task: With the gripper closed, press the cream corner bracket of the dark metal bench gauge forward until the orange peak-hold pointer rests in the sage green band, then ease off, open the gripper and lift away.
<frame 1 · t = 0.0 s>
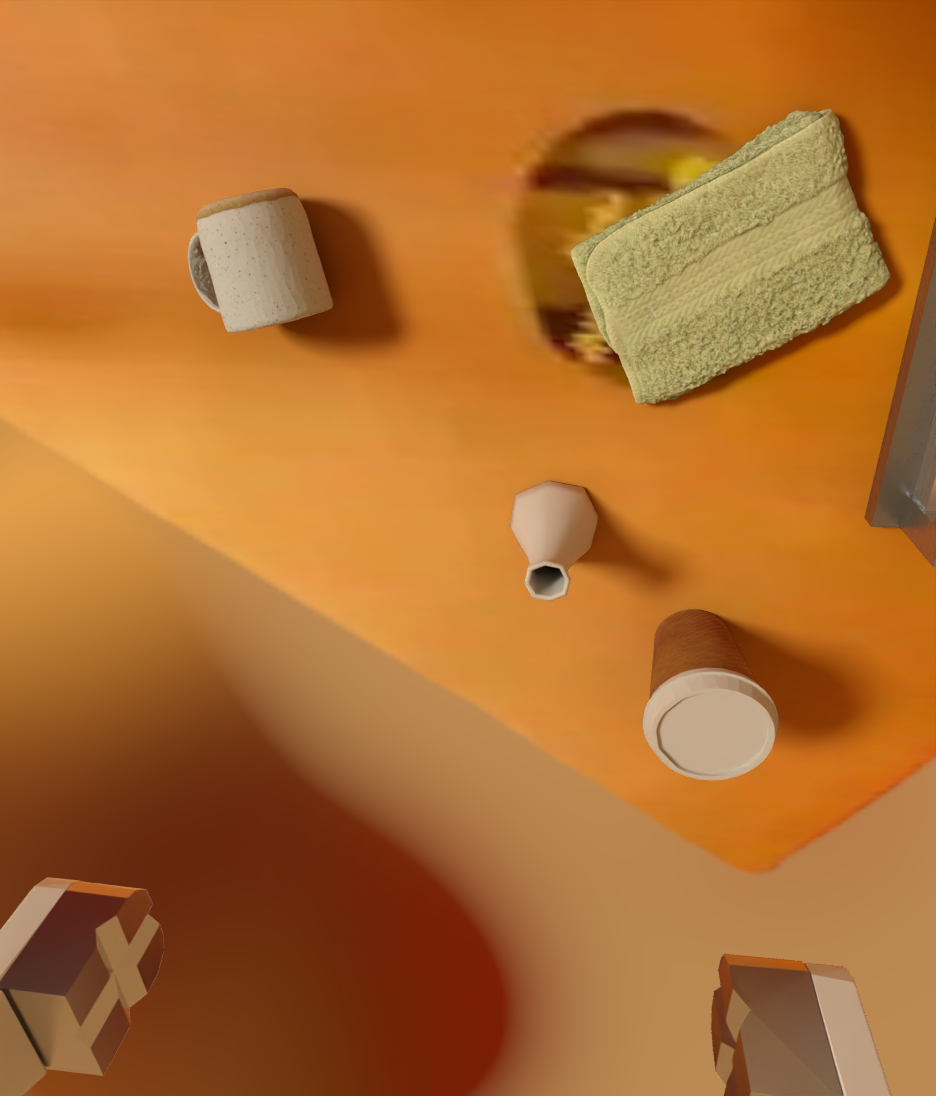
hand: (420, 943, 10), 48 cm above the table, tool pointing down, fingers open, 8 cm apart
flask: (553, 519, 60), on the table
ceramic mug: (269, 264, 54), on the table
washcloth: (721, 268, 50), on the table
disposable coffee cup: (691, 638, 63), on the table
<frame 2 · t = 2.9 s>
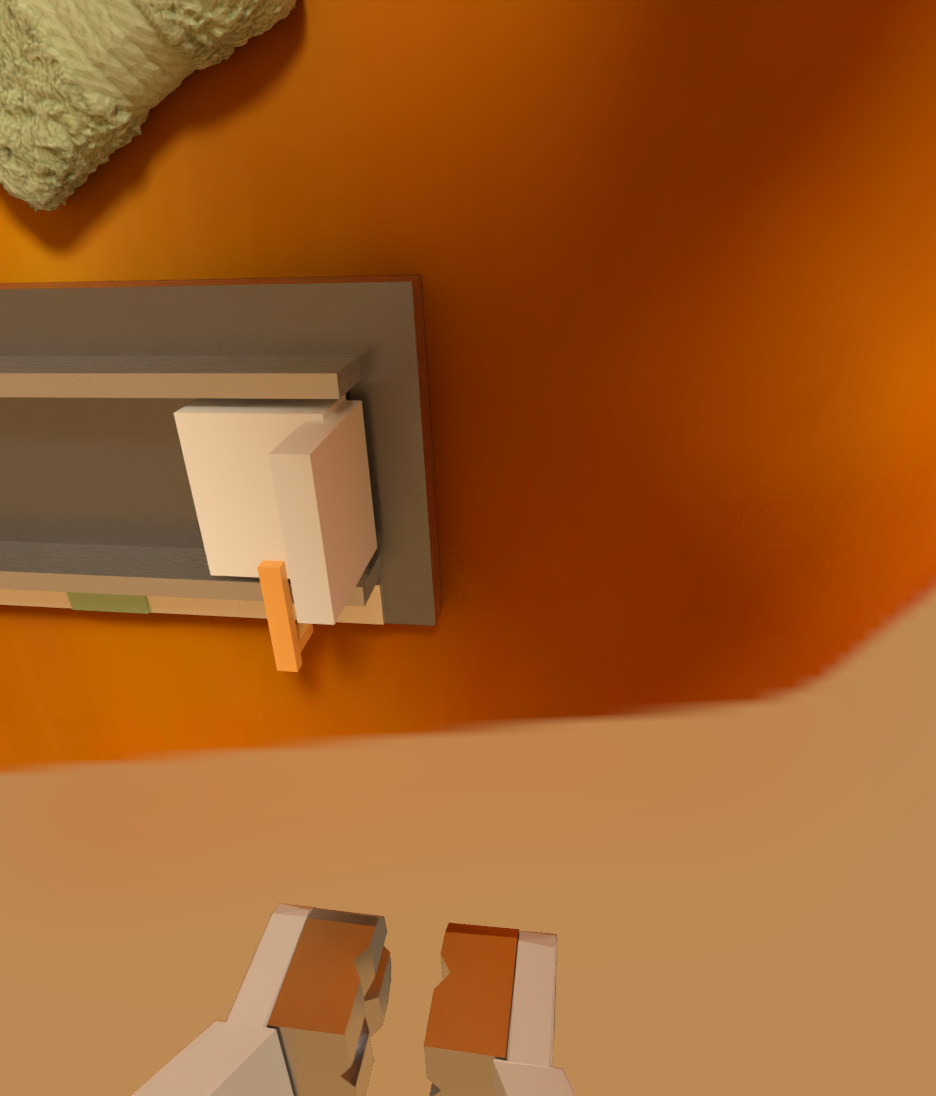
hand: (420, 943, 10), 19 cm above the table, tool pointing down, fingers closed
cream corner bracket: (276, 553, 25), point 4 cm above the table, slide at 0.0 cm
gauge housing: (69, 452, 30), on the table
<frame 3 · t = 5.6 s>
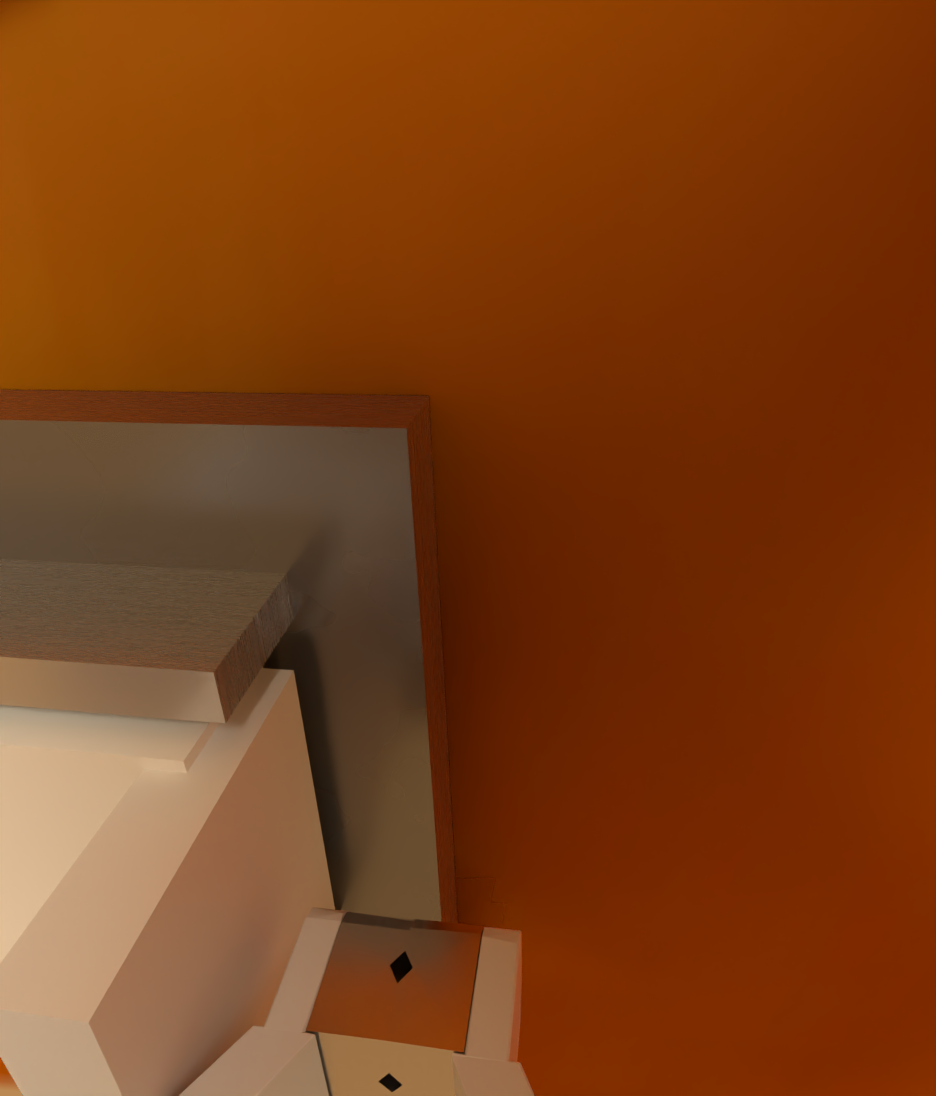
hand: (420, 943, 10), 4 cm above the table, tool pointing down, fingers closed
cream corner bracket: (108, 993, 12), point 4 cm above the table, slide at 0.0 cm, touching gripper
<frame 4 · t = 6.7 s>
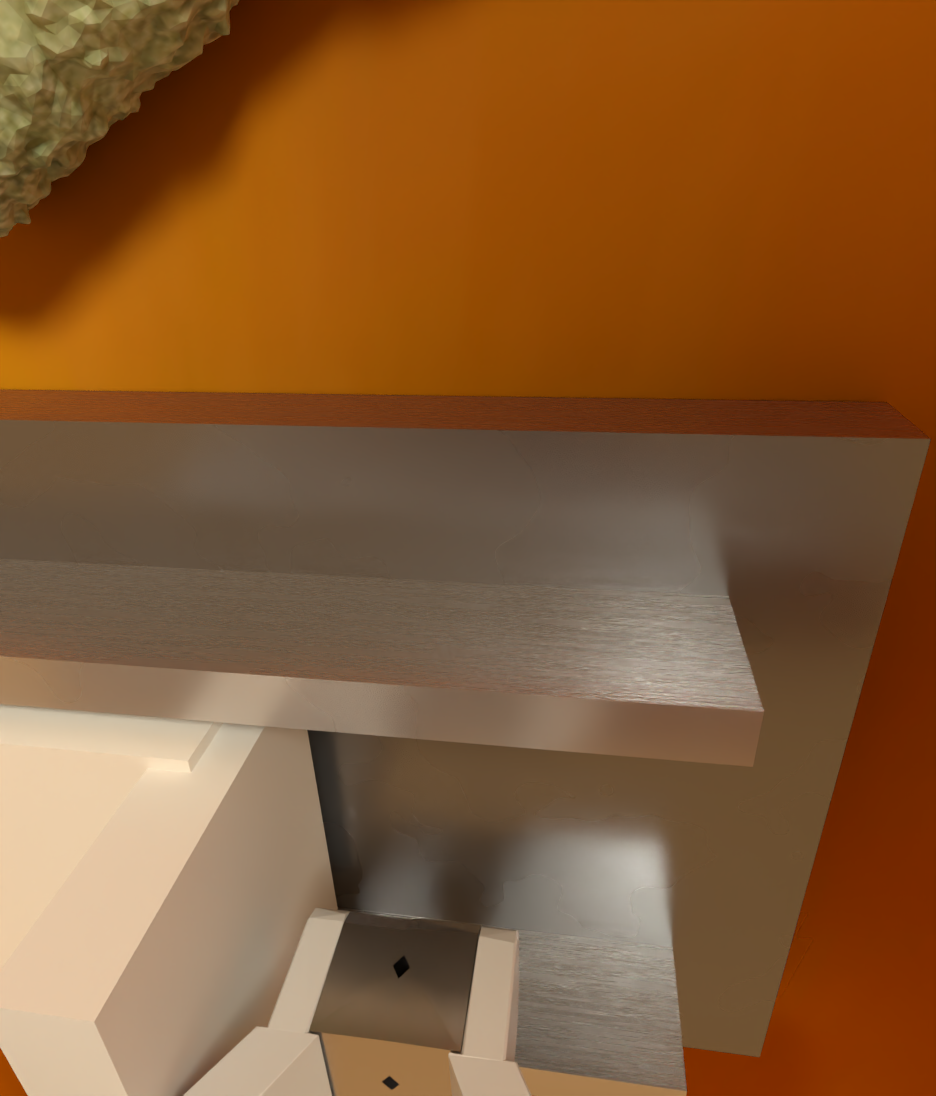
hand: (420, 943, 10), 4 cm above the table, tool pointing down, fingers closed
cream corner bracket: (111, 993, 12), point 4 cm above the table, slide at 6.3 cm, touching gripper
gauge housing: (35, 698, 15), on the table
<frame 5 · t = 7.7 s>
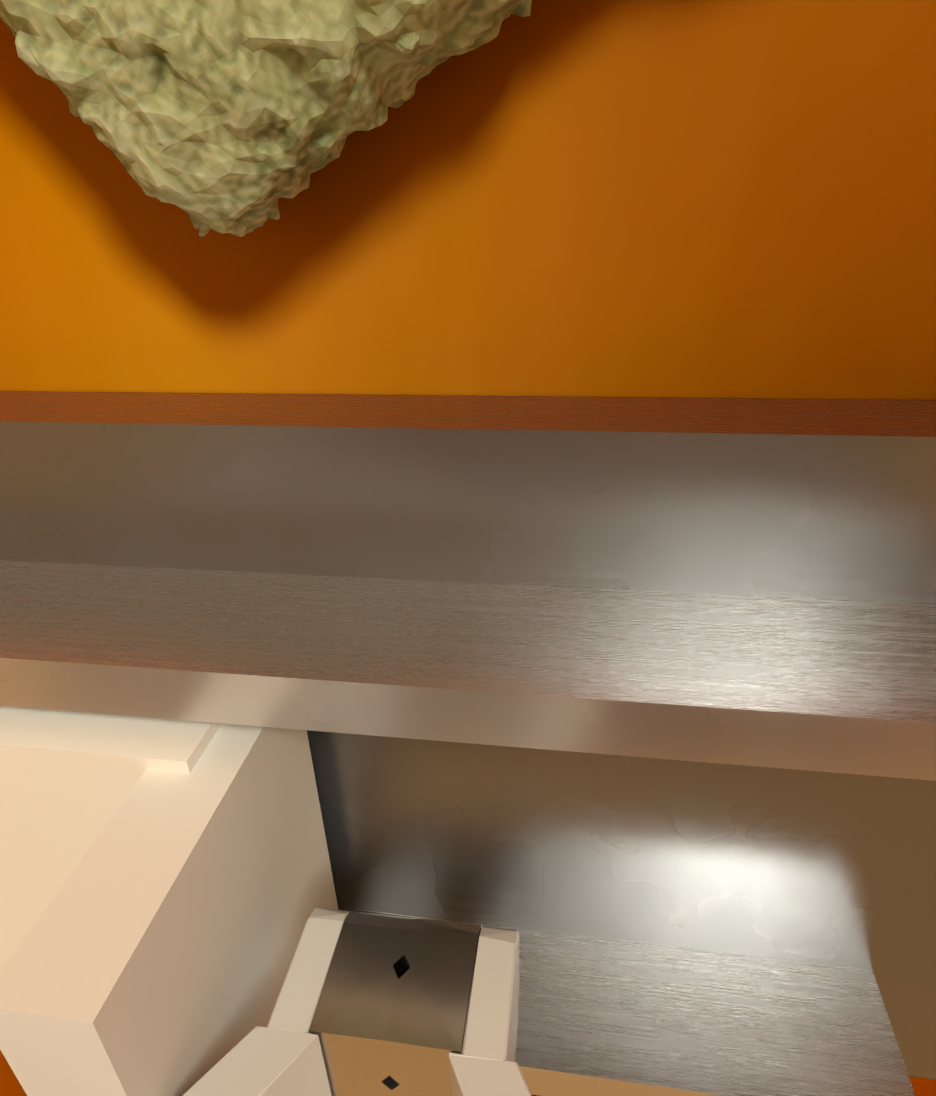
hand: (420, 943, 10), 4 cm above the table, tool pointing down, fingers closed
cream corner bracket: (112, 994, 12), point 5 cm above the table, slide at 9.7 cm, touching gripper
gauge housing: (190, 711, 15), on the table
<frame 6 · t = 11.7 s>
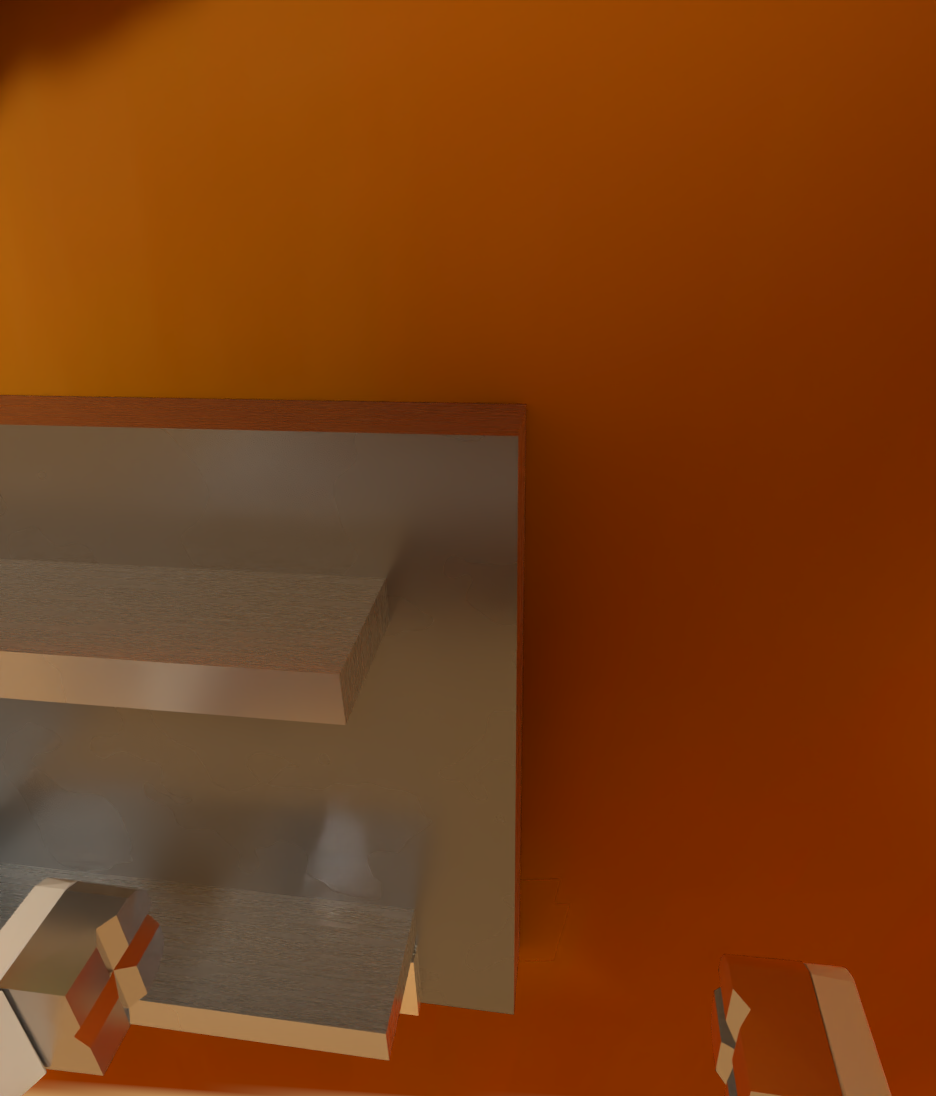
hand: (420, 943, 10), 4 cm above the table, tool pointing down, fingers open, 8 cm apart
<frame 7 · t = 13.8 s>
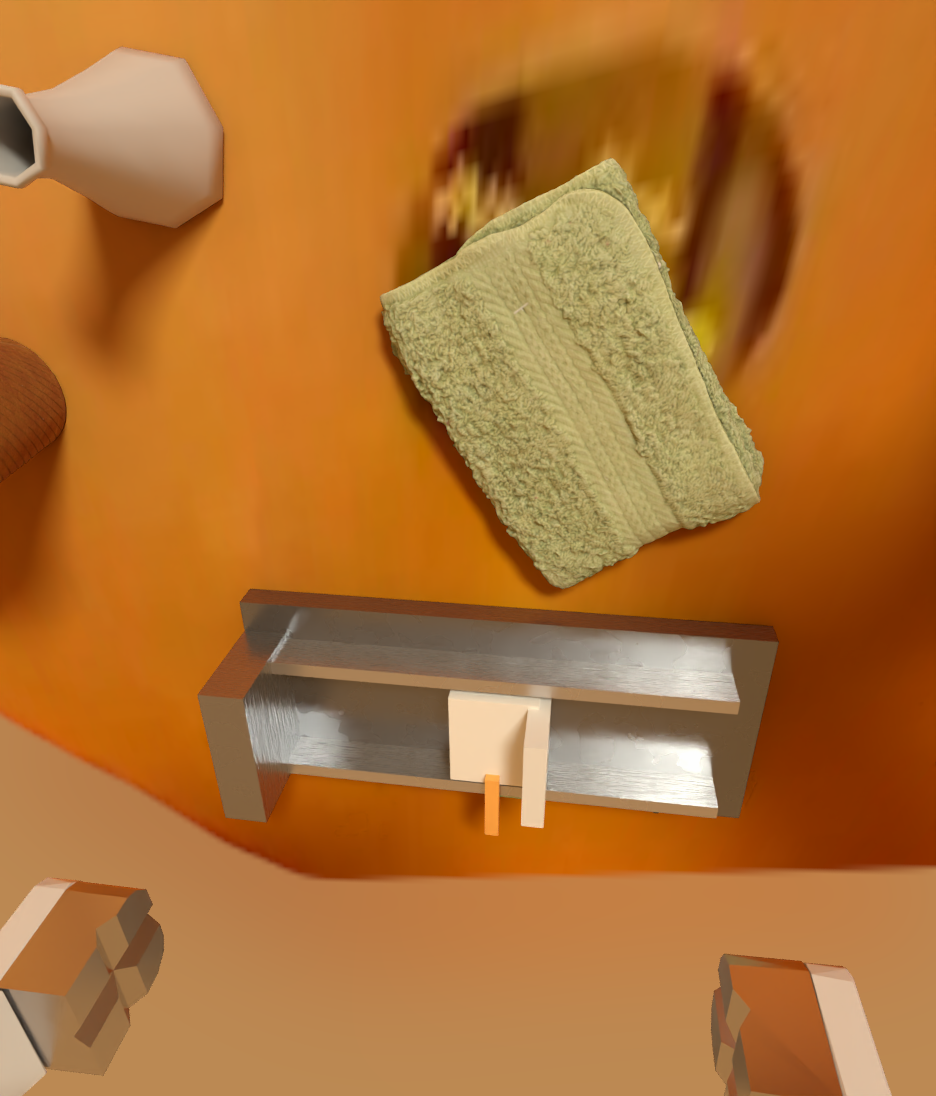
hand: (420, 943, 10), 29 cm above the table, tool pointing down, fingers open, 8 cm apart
cream corner bracket: (497, 773, 42), point 5 cm above the table, slide at 9.8 cm
flask: (155, 142, 34), on the table
washcloth: (574, 392, 36), on the table
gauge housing: (497, 696, 45), on the table
disposable coffee cup: (14, 393, 41), on the table
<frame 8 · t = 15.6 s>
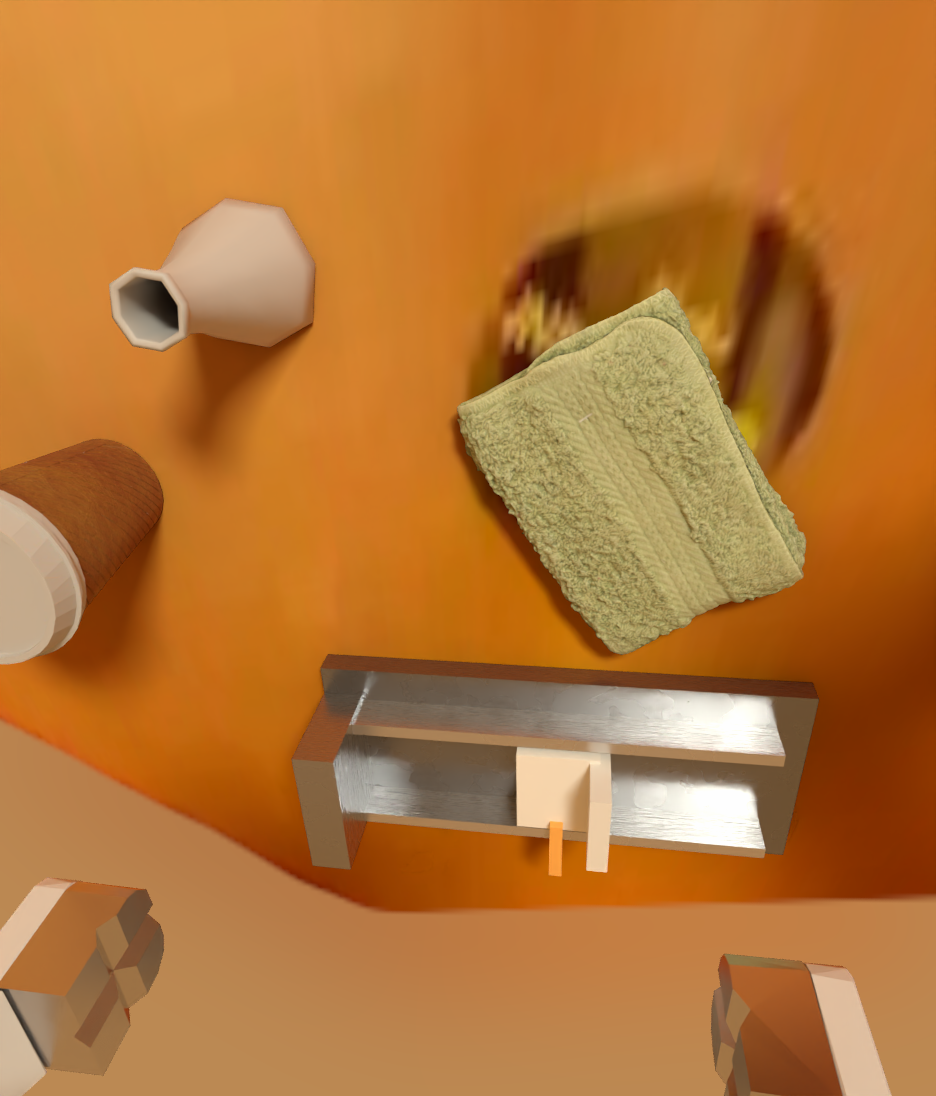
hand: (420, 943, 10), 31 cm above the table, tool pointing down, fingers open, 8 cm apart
cream corner bracket: (561, 820, 46), point 4 cm above the table, slide at 9.8 cm
flask: (252, 274, 38), on the table
washcloth: (630, 481, 40), on the table
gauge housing: (556, 746, 49), on the table
disposable coffee cup: (116, 486, 45), on the table
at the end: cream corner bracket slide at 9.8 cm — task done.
